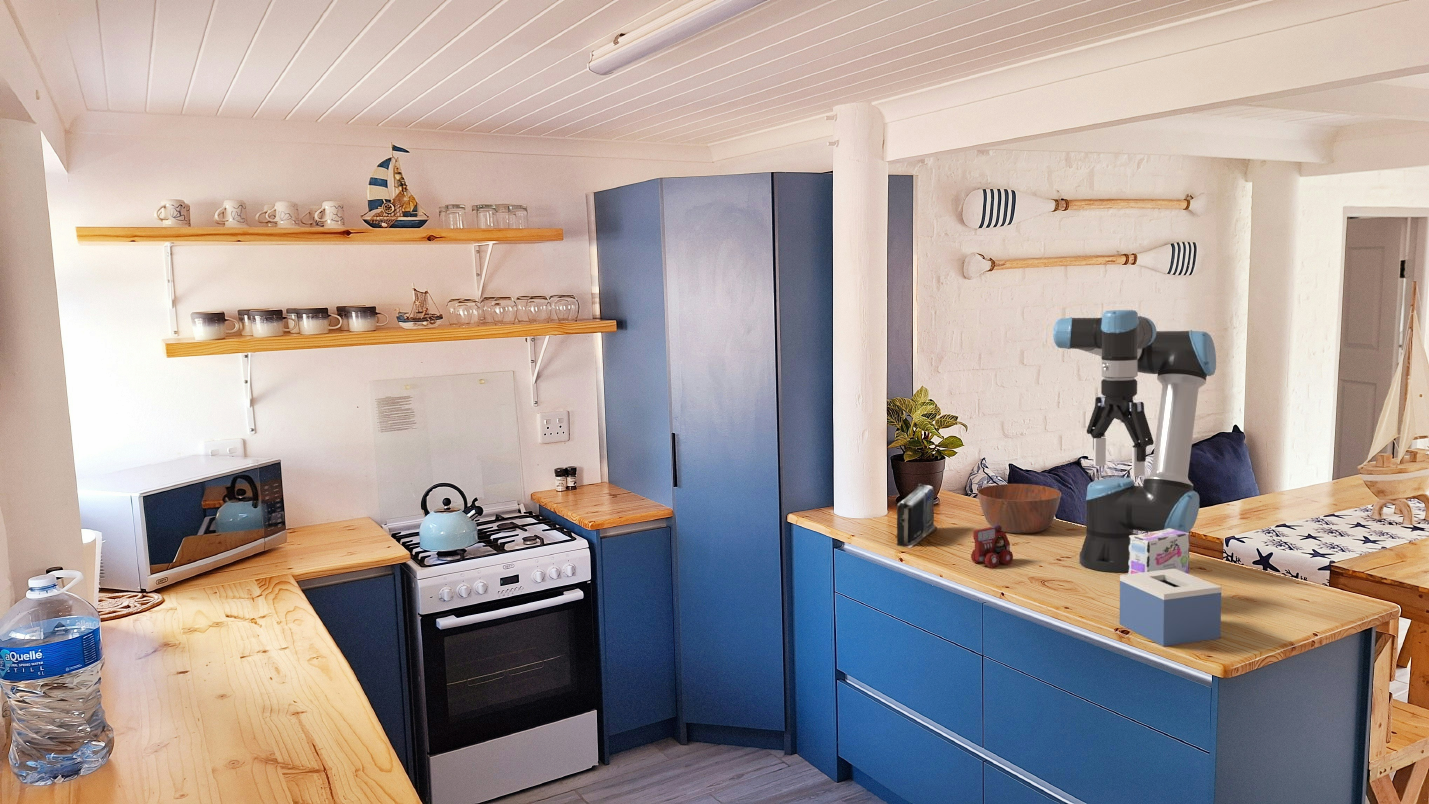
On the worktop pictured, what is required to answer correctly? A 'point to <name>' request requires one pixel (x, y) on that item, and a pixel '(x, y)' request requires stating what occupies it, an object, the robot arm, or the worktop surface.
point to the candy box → (1159, 551)
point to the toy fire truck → (991, 547)
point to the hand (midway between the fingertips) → (1118, 470)
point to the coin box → (1170, 606)
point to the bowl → (1019, 507)
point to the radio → (915, 516)
